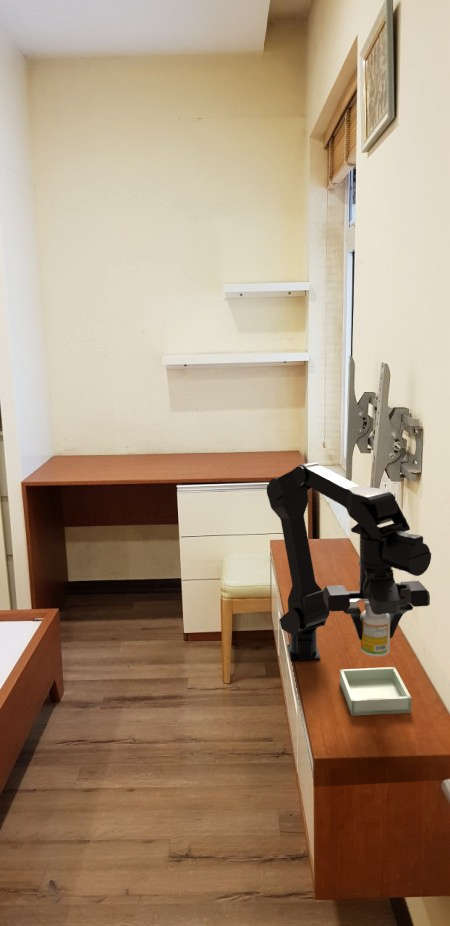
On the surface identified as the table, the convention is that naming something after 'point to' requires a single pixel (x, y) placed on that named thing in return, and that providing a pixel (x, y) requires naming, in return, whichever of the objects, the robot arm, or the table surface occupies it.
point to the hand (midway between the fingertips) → (375, 638)
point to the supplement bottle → (375, 632)
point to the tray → (374, 691)
